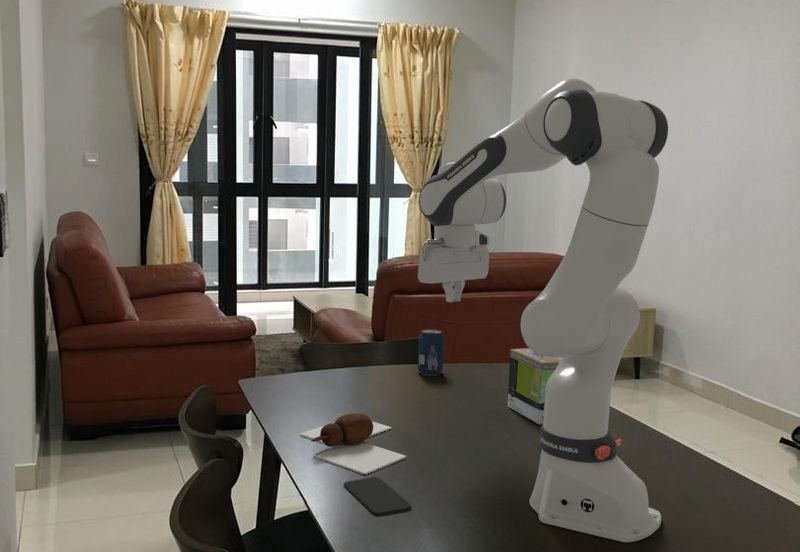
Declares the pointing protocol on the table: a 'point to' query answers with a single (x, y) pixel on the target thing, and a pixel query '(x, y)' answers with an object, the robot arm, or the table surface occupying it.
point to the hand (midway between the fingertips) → (453, 301)
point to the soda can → (430, 352)
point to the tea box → (529, 382)
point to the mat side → (360, 457)
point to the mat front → (316, 433)
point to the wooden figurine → (346, 430)
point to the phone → (377, 496)
